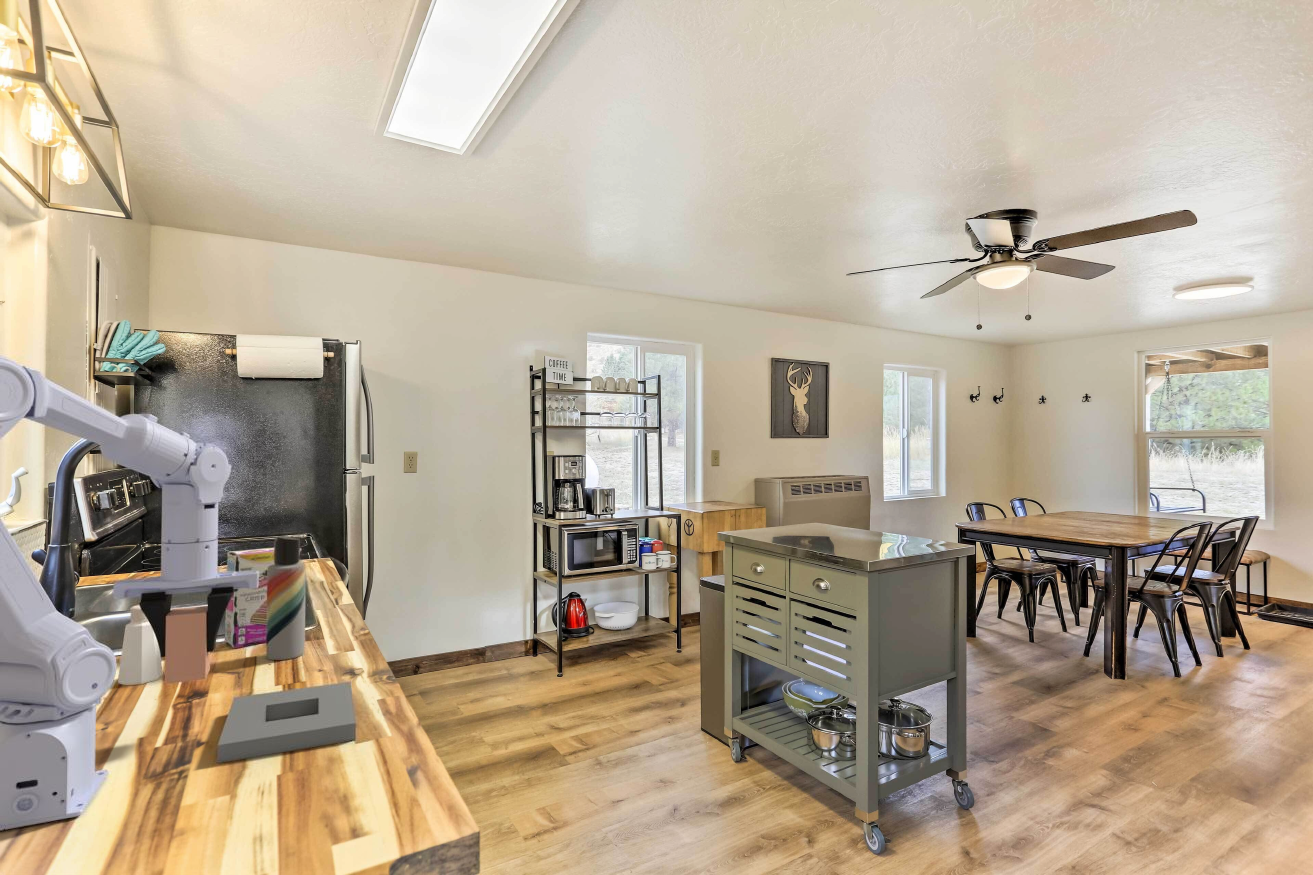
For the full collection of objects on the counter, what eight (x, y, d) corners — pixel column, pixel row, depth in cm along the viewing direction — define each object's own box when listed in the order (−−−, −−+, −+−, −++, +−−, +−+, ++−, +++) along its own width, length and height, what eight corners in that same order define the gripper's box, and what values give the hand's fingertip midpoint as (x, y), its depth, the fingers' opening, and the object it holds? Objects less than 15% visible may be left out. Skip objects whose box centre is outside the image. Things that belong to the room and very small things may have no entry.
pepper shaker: (171, 674, 105) (172, 602, 105) (141, 686, 99) (142, 610, 100) (139, 672, 105) (140, 601, 105) (107, 684, 100) (109, 609, 100)
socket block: (355, 739, 82) (355, 722, 82) (217, 763, 75) (217, 744, 75) (350, 695, 96) (350, 681, 96) (233, 712, 90) (234, 697, 90)
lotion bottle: (267, 652, 116) (269, 534, 116) (305, 648, 118) (306, 533, 118) (264, 662, 111) (266, 539, 111) (303, 658, 113) (305, 537, 113)
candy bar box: (234, 649, 117) (235, 554, 118) (223, 644, 121) (224, 551, 121) (301, 636, 126) (302, 547, 126) (289, 631, 129) (291, 544, 129)
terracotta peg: (205, 678, 82) (206, 612, 82) (165, 683, 80) (165, 615, 81) (209, 669, 86) (210, 605, 86) (171, 673, 84) (172, 608, 84)
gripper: (260, 533, 90) (259, 636, 90) (124, 539, 84) (122, 650, 83) (256, 540, 84) (255, 650, 84) (109, 547, 77) (107, 667, 77)
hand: (188, 652), depth 83 cm, fingers closed on terracotta peg, 4 cm apart
